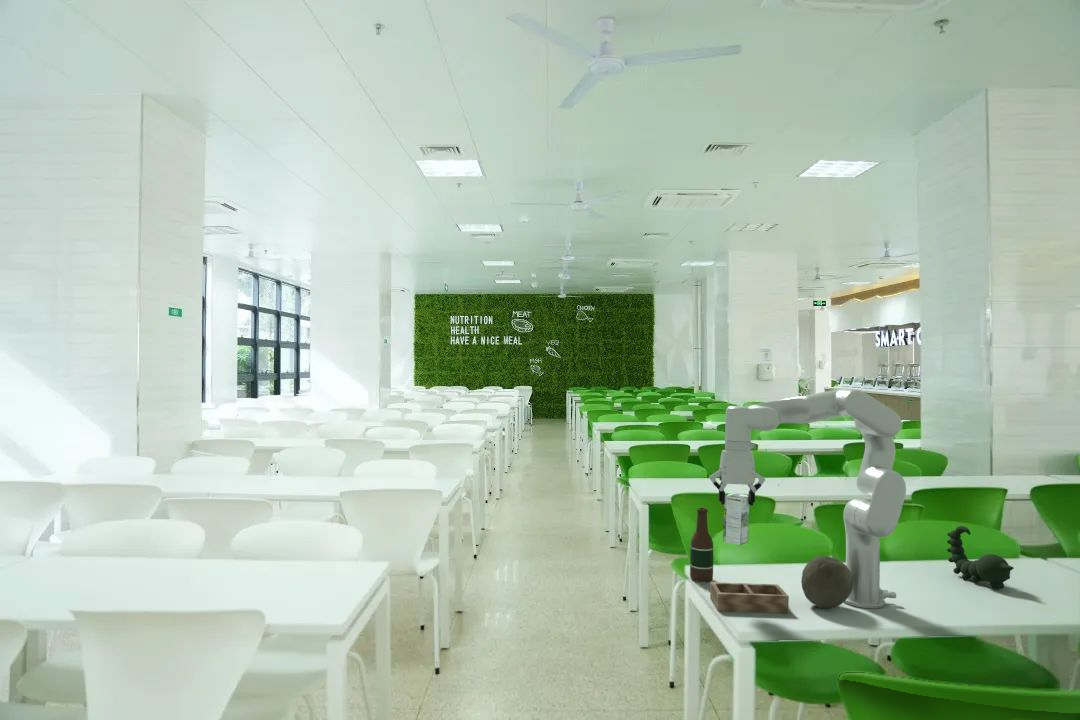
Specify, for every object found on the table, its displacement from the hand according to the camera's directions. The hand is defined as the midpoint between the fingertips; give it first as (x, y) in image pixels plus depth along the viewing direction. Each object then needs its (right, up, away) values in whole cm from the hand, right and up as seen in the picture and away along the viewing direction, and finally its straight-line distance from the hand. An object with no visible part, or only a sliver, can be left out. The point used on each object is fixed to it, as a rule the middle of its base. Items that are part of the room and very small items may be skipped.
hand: (736, 503), depth 207 cm
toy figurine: (+90, -32, +24) cm, 99 cm away
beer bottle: (-5, -31, +23) cm, 39 cm away
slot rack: (+3, -30, -2) cm, 31 cm away
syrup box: (0, -12, 0) cm, 12 cm away
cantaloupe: (+26, -31, -2) cm, 41 cm away
